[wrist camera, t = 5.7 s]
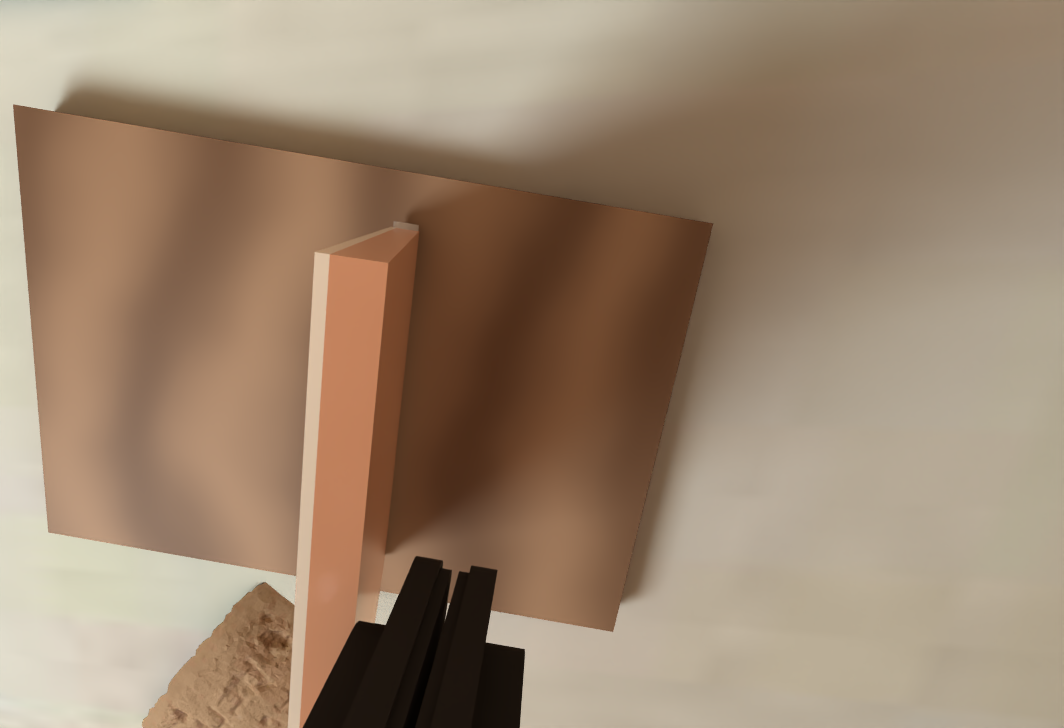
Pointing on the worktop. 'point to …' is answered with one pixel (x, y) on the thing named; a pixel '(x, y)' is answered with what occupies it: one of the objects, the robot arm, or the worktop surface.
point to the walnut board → (283, 353)
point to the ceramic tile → (348, 445)
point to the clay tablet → (235, 671)
